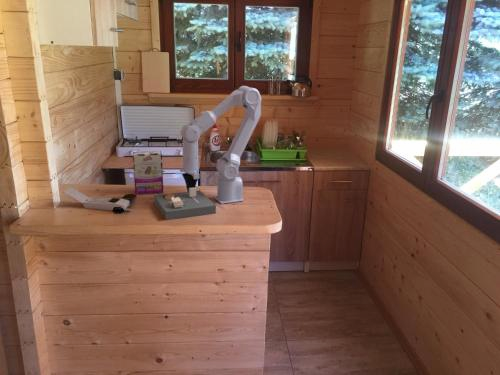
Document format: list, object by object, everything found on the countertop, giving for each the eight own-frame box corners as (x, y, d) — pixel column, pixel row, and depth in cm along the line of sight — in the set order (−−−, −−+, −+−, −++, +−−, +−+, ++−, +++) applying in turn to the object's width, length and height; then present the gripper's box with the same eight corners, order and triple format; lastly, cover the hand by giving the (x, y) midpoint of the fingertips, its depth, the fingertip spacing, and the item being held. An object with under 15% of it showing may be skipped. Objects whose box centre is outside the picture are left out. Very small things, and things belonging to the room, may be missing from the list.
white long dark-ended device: (70, 186, 155) (134, 191, 152) (72, 201, 157) (135, 207, 154) (61, 191, 149) (127, 197, 146) (63, 207, 151) (128, 213, 148)
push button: (173, 201, 159) (173, 193, 158) (175, 204, 156) (175, 196, 155) (163, 202, 157) (163, 194, 156) (166, 205, 154) (166, 197, 153)
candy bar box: (162, 189, 173) (161, 150, 168) (163, 193, 169) (162, 153, 164) (134, 190, 170) (132, 151, 165) (134, 194, 166) (132, 154, 161)
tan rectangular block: (194, 194, 158) (194, 187, 157) (196, 196, 156) (196, 188, 156) (188, 195, 157) (188, 188, 156) (190, 197, 156) (190, 189, 155)
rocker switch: (179, 199, 150) (179, 196, 149) (183, 206, 146) (183, 203, 145) (170, 200, 148) (170, 197, 148) (174, 207, 144) (174, 204, 144)
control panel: (199, 197, 166) (199, 185, 164) (215, 213, 150) (215, 200, 149) (153, 202, 158) (153, 190, 157) (166, 220, 143) (165, 206, 141)
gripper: (174, 153, 159) (175, 187, 163) (185, 162, 146) (186, 199, 150) (192, 152, 161) (192, 185, 166) (204, 161, 149) (204, 197, 153)
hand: (190, 192), depth 158 cm, fingers closed
